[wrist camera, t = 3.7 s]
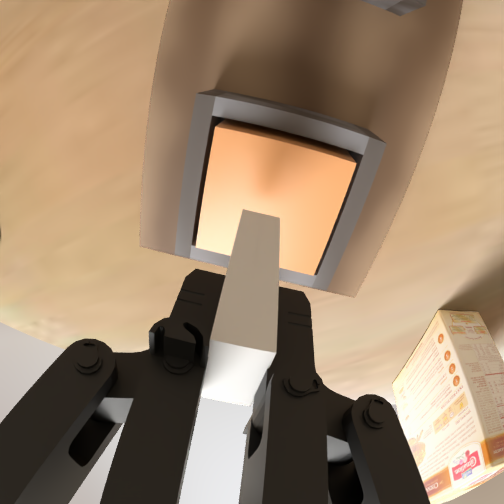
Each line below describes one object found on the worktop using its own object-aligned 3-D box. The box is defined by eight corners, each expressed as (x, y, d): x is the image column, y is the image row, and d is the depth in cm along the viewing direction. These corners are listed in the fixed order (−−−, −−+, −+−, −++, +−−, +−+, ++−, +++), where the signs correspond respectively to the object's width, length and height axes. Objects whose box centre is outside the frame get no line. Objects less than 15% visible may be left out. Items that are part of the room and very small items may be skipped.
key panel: (157, 223, 27) (118, 276, 20) (234, -124, 8) (215, -172, 2) (348, 269, 28) (362, 333, 21) (448, -65, 9) (494, -92, 2)
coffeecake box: (430, 383, 37) (453, 499, 21) (389, 384, 37) (406, 511, 21) (480, 310, 29) (538, 448, 13) (437, 307, 29) (491, 469, 13)
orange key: (207, 223, 20) (195, 247, 18) (226, 117, 16) (215, 126, 14) (310, 248, 20) (313, 275, 18) (346, 148, 16) (356, 163, 14)
